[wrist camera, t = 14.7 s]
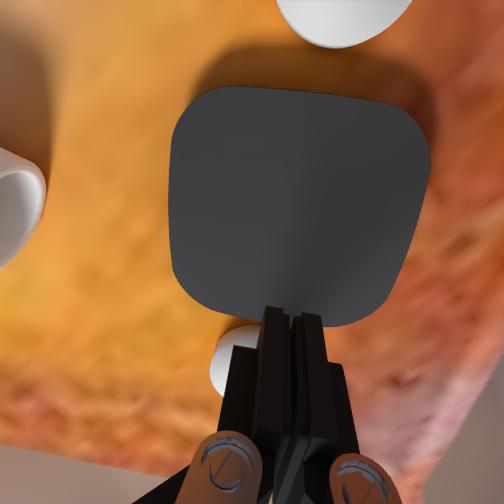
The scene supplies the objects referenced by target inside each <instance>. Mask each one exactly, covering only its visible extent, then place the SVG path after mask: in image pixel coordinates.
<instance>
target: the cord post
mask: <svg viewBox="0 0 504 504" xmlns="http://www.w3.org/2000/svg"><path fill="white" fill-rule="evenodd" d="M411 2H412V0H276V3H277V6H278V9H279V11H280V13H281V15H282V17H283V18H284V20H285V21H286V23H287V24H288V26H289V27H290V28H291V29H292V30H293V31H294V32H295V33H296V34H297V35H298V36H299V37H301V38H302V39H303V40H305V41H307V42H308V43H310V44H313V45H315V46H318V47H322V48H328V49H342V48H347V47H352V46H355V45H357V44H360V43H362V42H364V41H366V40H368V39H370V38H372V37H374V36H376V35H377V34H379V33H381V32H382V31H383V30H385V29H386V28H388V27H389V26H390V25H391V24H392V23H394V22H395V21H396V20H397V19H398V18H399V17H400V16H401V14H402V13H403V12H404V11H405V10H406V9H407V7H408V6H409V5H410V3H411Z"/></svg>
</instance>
